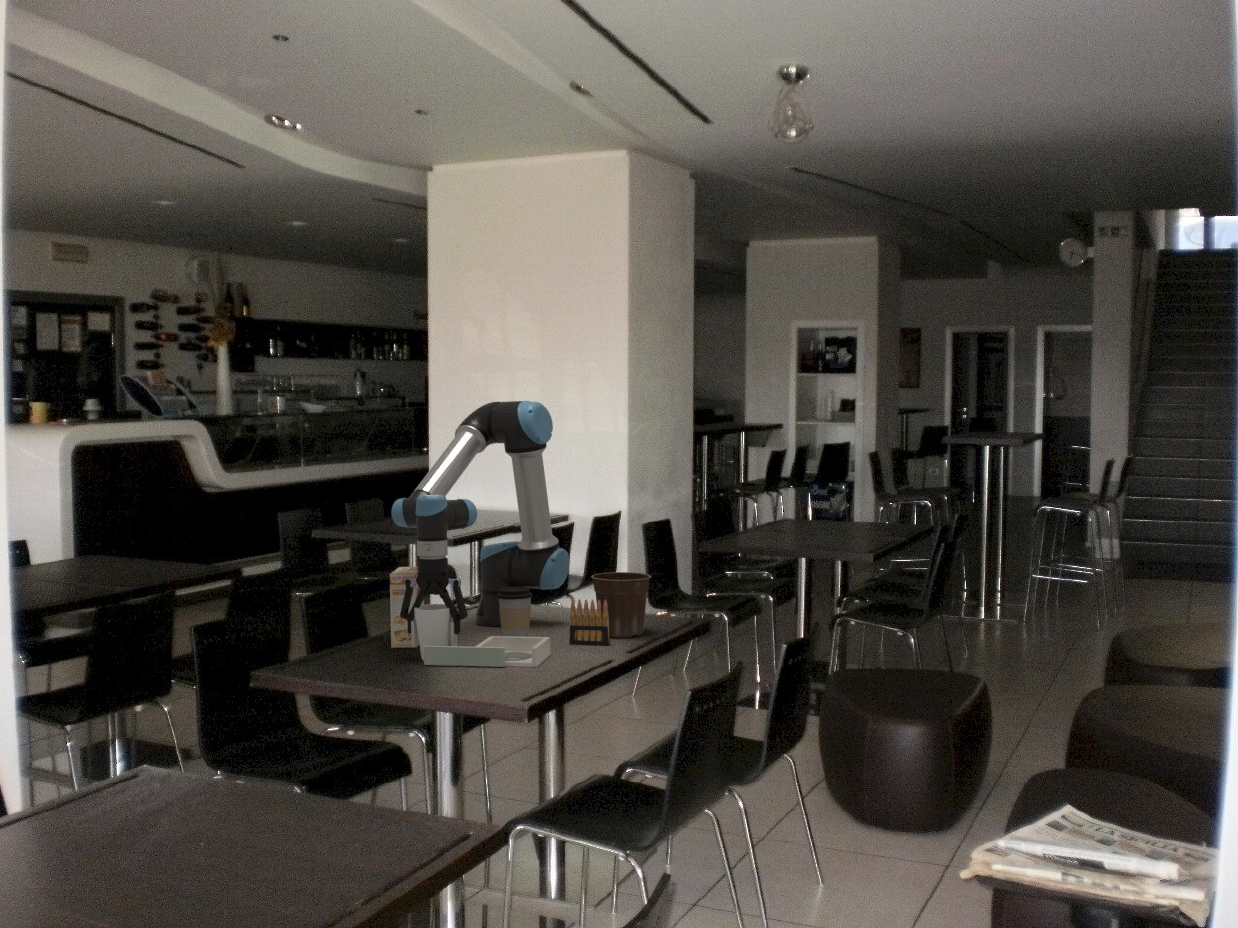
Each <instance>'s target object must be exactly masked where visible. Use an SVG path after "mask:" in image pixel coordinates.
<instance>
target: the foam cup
mask: <svg viewBox="0 0 1238 928" xmlns="http://www.w3.org/2000/svg"><path fill="white" fill-rule="evenodd" d="M414 613H415V618H416V625H417V631H418V638H419V650H420V657H421V660H422V661H423V662H424V646H450V640H451V624H450V622H451V621H453V618H452V616H451V615H450V611H449V608H447V607H446V605H445V603H431V604H430V603H429V604H428V603H427V604H424V605H421V606H420V607H419V608H414Z"/></svg>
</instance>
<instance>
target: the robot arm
mask: <svg viewBox="0 0 1238 928" xmlns="http://www.w3.org/2000/svg"><path fill="white" fill-rule="evenodd" d="M553 423H554V422H553V419H552V416H551V413H550V411H549V410H548V408H547V407H546V406H545V405H544V404H543V403H541V402H539V401H530V400H515V401H513V400H510V401H491V402H489V403H488V402H487V403H485V404H483V405H481V406H480V407H478V408H477V409H475V410H474V411H472V412H471V413H470V414H468V415H467V417H465V418H464V419H463V420H462V422H461V423H460V424H459V425H458V426H457V428H456V429H455V432H454V438H453V439H452V440H451V442H450V443H449V444H448V446H447V447H446V449H445V450H444V451H443V452H442V453H441V454H440V456H439V458H438V459H437V460H436V461H435V463H434V464H433V465H432V466H431V468H430V469H429V470H428V472H427V473H426V475H425V476H424V477H423V479H422V480H421V481H420V482H419V484H418V485H417V487H416V488H415V489H414V490H413V492H412V493H411V494H410V496H409V497H408V498H407V497H402V498H398V499H396V500H395V501H394V503H393V504H392V505H391V506H392V507H391V518H392V521H393V522H394V524H395V525H396V526H398V527H401V528H402V527H403V528H408V529H416V535H417V536H416V554H417V557H418V559H417V561H416V563H417V564H416V565H417V566H416V567H417V571H418V576H417V578H416V579H412V578H409V579H407V580H406V581H405V585H406V590H405V595H404V599H403V604H402V608H401V612H400V617H401V618H404V619H406V620H407V622H408V633H411V640H412V647H416V646H417V647H418V646H419V645H418V631H417V625H416V619H414V618H415V613H414V608H419V607H420V606H421V604H422V602H423V600H424V601H425V597H426V596H427V595H428V596H430V595H434V596H439V597H440V599H441V600H442V601H443V604H445V605H446V607H447V608H449V611H450V615H451V616H452V621H451V622H450V624H451V630H450V646H458V635H459V634H461V621H462V620H465V619H466V618H468V616H469V614H468V610H467V607H466V603H465V600H464V595H463V592H462V589H461V584H462V580H461V579H460V578H457V579H455V578H450V577H449V558H448V557H446V556H448V554H449V553H448V551H449V550H448V531H453V530H464V529H466V528H469V527H472V526H473V525H474V524H475V523H476V521H477V518H478V509H477V507H476V505H475V503H474V502H473V501H471V500H470V499H467V498H457V499H447V497H446V496H447V495H448V494H449V492H450V491H451V490H452V489H453V487H454V485H455V484H456V483H457V481H458V480H459V479H460V477H461V476H462V474H463V473H464V472H465V471H466V469H467V468H468V466H469V465H470V464H471V462H473V460H474V458H475V457H476V455H477V454H481V453H483V452H484V451H485V450H486V448H487V447H488V446H490V445H493V444H504V452H505V454H507V455H508V456H510V458H511V462H512V472H513V479H514V487H515V488H514V489H515V494H516V502H517V508H518V517H519V523H520V524H519V525H520V530H521V540H520V541H518V540H516V541H515V540H514V541H507V542H498V543H491V544H486V545H484V546H483V547H481V548H480V559H479V562H480V592H481V593H480V594H481V595H480V600H479V603H478V606H477V610H476V613H475V624H477V625H480V626H486V627H501V618H500V610H499V607H500V605H499V598H497V594H498V593H499V589H501V588H506V587H526V588H529V589H537V590H543V591H545V590H555V589H559V588H560V587H561V586H562V585H563V584H564V583H565V581H566V579H567V577H568V574H569V571H570V556H569V553H568V552H567V549H564V548H562V547H560V542H559V538H557V537H556V536H555V535H553V530H552V520H551V513H550V506H549V505H550V504H549V498H548V497H549V496H548V491H547V489H548V487H547V483H546V475H545V467H544V458H543V453H544V451H545V450H546V449H547V443H548V442H549V441H551V438H552V435H553V433H552V432H553V431H554V426H553ZM416 583H417V584H418V586H419V587H420V588H421V589H420V591H419V593H418V596H417V598H416V600H415V602H414V604H413V606H412V608H411V610H410V612H409V613H408V611H409V607H410V602H411V598H412V594H413V589H414V587H415V585H416ZM449 585H450V587H451V589H452V591H453V595H454V600H455V602H456V606H457V608H456V606H455V604H454V601H453V600H452V598H451V596H450V593H449V591H448V589H447V587H448V586H449ZM417 647H416V648H417Z"/></svg>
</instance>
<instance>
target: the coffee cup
mask: <svg viewBox="0 0 1238 928" xmlns="http://www.w3.org/2000/svg"><path fill="white" fill-rule="evenodd" d="M530 589H531V588H526V587H506V588H501V589H499V593H498V594H497V598H499V605H500V607H499V610H500V618H501V626H500V628H501V629H502V636H510V637H529V628H530V623H531V612H532V610H531V609H532V606H531V603H532V601H531V600H532V598H533V592H531V590H530Z"/></svg>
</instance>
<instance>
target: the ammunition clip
mask: <svg viewBox="0 0 1238 928" xmlns="http://www.w3.org/2000/svg"><path fill="white" fill-rule="evenodd" d="M570 603H571V604H570V613H569V615H570V616H569V618H570V619H569V620H570V621H569V622H570V623H569V624H570V625H569V642H568V643H569V645H570V646H571V645H572V646H599V647H608V646H610V645H611V637H610V630H609V615H608V606H607V601H606V600H605V601H604V605H603V625H602V611H601V603H600V600H598V602H596V605H595V601H594V599H592V598H591V601H590V605H589V602H588V600H587V599H586V598H585V600H584V604H582V601H581V599H580V598H579V599H578V602H577V605H576V602H575V600H574V598H572V599H571V602H570ZM582 605H583V606H582ZM576 606H577V607H576ZM589 607H590V609H589ZM576 609H577V610H576ZM589 610H590V611H589Z"/></svg>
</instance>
